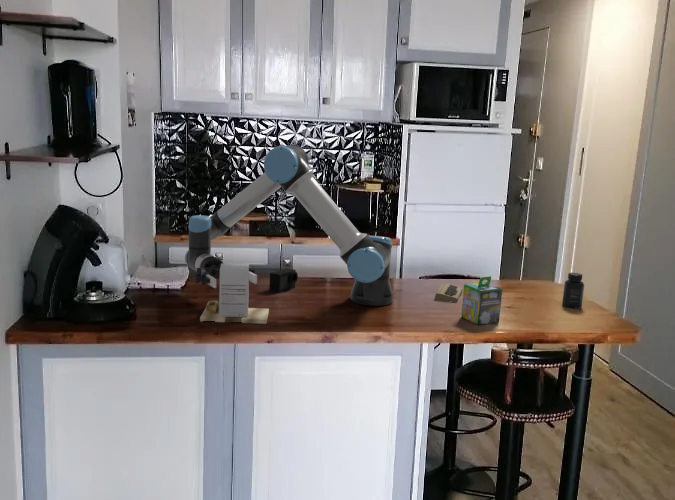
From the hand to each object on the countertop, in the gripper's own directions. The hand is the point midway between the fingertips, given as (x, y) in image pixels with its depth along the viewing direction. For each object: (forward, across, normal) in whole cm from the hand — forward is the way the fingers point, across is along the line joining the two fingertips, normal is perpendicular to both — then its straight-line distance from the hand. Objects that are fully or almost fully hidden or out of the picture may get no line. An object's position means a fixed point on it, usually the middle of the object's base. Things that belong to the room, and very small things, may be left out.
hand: (236, 281), depth 201 cm
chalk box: (+34, -71, -12) cm, 80 cm away
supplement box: (-1, 0, -10) cm, 10 cm away
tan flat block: (+7, -82, -12) cm, 84 cm away
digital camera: (-24, -30, -12) cm, 39 cm away
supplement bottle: (+36, -116, -12) cm, 122 cm away
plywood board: (0, 0, -11) cm, 11 cm away
